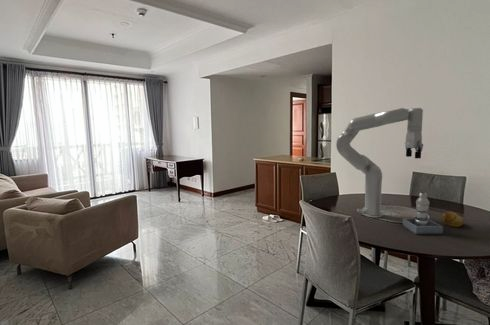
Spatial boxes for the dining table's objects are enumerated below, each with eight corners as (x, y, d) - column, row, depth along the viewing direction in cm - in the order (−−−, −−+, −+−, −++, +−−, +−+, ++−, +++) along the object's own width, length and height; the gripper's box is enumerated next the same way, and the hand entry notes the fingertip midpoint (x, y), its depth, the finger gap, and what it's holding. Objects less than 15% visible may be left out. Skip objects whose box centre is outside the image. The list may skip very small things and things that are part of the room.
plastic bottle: (422, 225, 163) (424, 191, 160) (430, 229, 156) (433, 194, 154) (411, 225, 163) (413, 191, 160) (419, 230, 156) (421, 194, 154)
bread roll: (439, 219, 174) (440, 207, 173) (459, 221, 169) (460, 208, 168) (443, 226, 163) (443, 213, 162) (464, 229, 158) (465, 215, 157)
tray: (416, 234, 153) (416, 227, 152) (402, 225, 166) (402, 218, 166) (442, 233, 152) (443, 226, 152) (426, 224, 166) (427, 218, 166)
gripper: (400, 129, 179) (399, 156, 182) (416, 129, 162) (414, 159, 165) (412, 128, 179) (411, 155, 182) (429, 129, 162) (428, 158, 164)
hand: (413, 157), depth 173 cm, fingers open, 9 cm apart
